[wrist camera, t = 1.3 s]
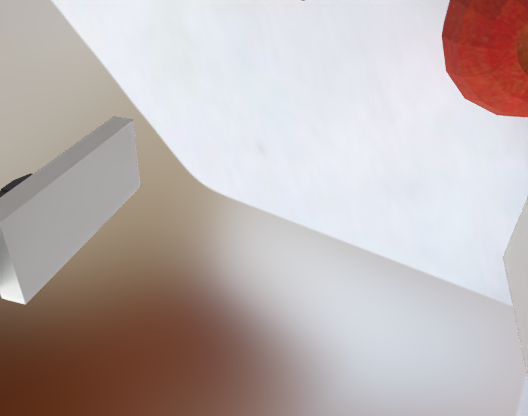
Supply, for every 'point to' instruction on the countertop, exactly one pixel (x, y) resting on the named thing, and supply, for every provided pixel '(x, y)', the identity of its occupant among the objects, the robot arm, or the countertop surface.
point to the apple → (489, 53)
